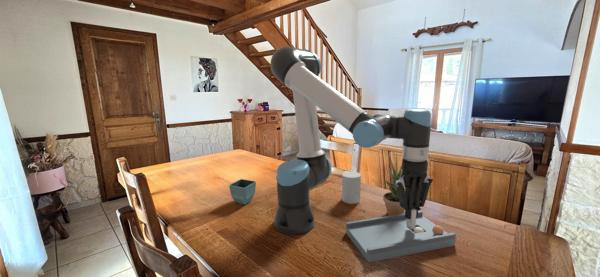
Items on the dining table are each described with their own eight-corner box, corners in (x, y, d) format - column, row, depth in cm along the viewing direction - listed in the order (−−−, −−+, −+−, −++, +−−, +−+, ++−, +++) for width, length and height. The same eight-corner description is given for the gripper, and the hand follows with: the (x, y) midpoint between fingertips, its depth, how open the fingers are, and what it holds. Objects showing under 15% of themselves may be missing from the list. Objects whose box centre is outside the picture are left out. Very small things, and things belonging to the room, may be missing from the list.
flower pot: (257, 199, 118) (256, 181, 116) (246, 207, 110) (244, 188, 108) (242, 196, 121) (240, 178, 120) (230, 204, 114) (228, 185, 112)
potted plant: (379, 208, 106) (381, 150, 101) (402, 208, 106) (405, 150, 101) (386, 220, 96) (389, 157, 91) (412, 220, 96) (416, 157, 91)
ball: (426, 229, 84) (425, 238, 85) (420, 225, 87) (419, 233, 88) (418, 230, 83) (417, 239, 84) (412, 225, 87) (411, 234, 87)
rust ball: (436, 238, 80) (437, 229, 79) (429, 233, 83) (430, 224, 82) (445, 237, 81) (446, 228, 80) (437, 231, 84) (438, 222, 83)
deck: (368, 262, 74) (368, 250, 73) (345, 232, 89) (345, 222, 88) (454, 245, 80) (455, 234, 80) (420, 220, 96) (420, 210, 95)
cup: (360, 204, 110) (361, 178, 108) (341, 203, 112) (341, 177, 109) (360, 196, 118) (360, 171, 116) (342, 195, 120) (342, 171, 117)
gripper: (404, 163, 75) (400, 235, 80) (441, 159, 78) (435, 229, 83) (389, 157, 82) (386, 223, 87) (424, 153, 85) (419, 218, 90)
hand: (410, 226), depth 85 cm, fingers closed
